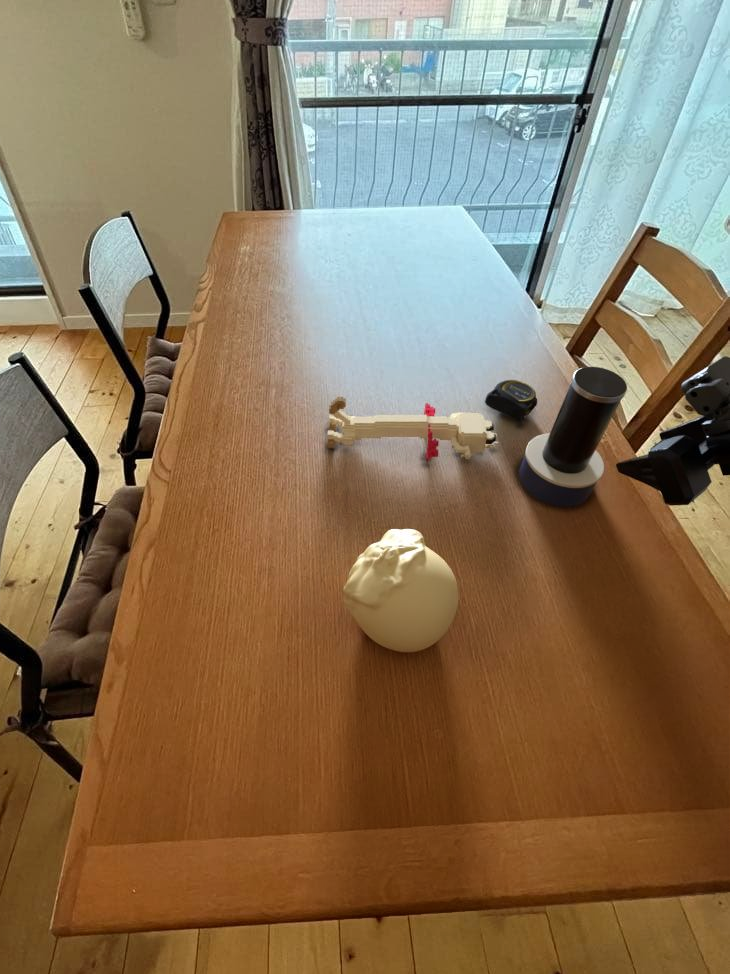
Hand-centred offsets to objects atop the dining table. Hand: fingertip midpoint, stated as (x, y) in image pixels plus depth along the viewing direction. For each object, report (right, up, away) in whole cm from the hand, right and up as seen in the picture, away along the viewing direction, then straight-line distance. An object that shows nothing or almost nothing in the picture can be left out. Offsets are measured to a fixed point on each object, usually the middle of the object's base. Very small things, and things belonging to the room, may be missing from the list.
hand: (639, 451), depth 66 cm
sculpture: (-30, -19, -2) cm, 35 cm away
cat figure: (-25, +2, +18) cm, 31 cm away
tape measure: (-8, +7, +23) cm, 26 cm away
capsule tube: (-5, 0, +10) cm, 11 cm away
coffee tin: (-5, -4, +13) cm, 14 cm away
